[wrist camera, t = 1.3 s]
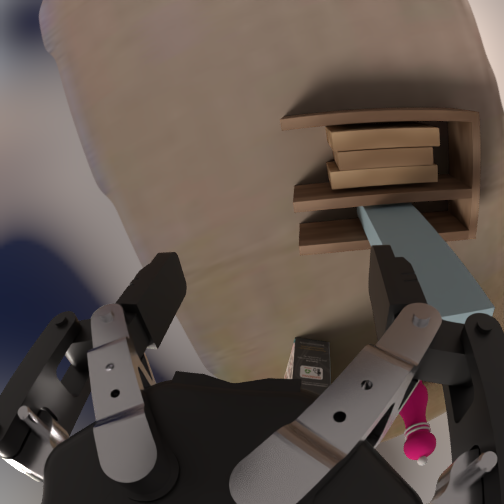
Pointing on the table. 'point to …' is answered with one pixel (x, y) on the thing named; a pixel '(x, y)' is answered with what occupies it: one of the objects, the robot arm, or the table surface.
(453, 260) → the panel
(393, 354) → the robot arm
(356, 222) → the rack
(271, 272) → the table surface
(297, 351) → the cake mix box
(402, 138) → the offcuts
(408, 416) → the pepper mill
